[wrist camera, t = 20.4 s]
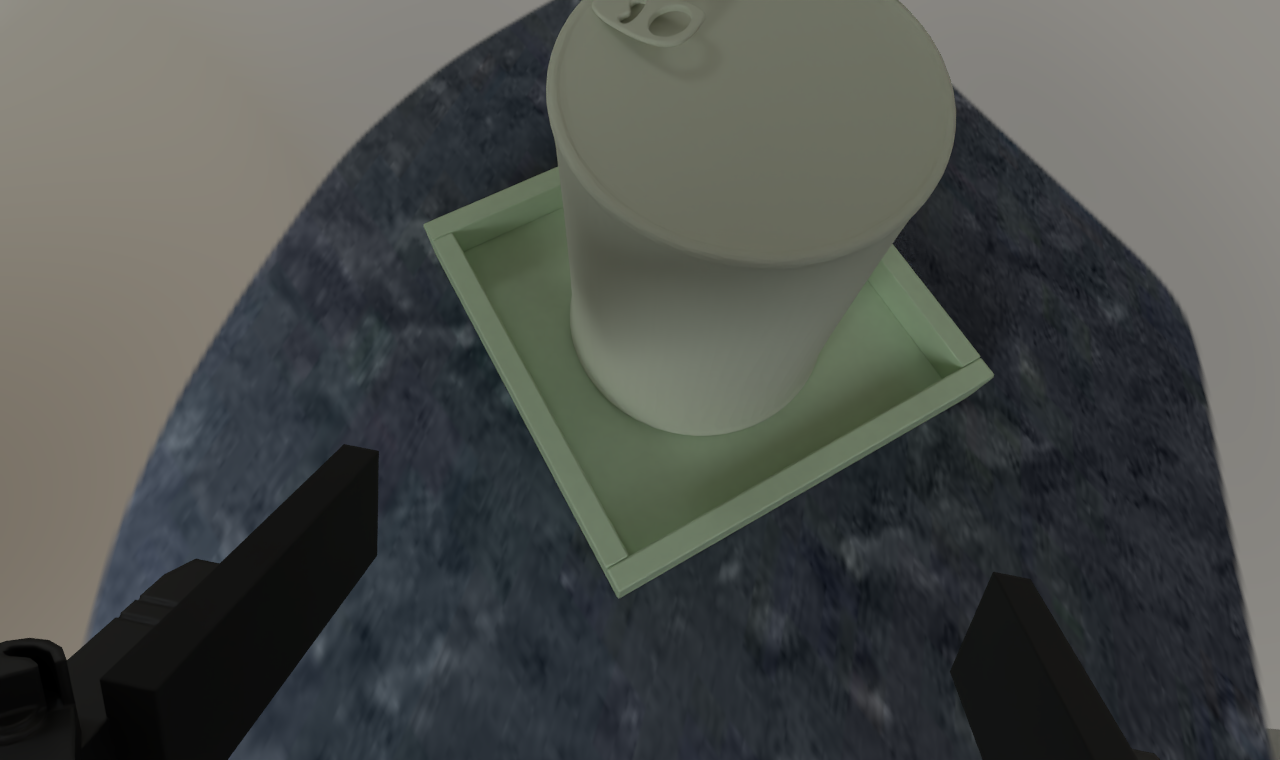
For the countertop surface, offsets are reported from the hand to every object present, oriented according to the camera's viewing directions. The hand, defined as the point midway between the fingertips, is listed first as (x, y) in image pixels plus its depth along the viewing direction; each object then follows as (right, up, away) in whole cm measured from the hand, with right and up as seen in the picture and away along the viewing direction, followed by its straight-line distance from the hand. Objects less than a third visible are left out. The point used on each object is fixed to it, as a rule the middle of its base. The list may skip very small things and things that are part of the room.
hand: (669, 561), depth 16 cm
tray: (+1, +6, +12) cm, 13 cm away
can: (+1, +6, +11) cm, 13 cm away
